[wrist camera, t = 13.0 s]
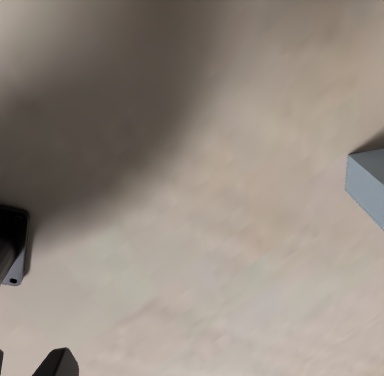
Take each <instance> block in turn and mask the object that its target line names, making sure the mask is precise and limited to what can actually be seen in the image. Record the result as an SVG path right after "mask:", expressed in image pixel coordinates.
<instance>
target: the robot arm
mask: <svg viewBox="0 0 384 376" xmlns="http://www.w3.org/2000/svg"><path fill="white" fill-rule="evenodd" d="M18 216H21V217H22V218H23V219H21V218H19V217H18ZM29 222H30V215H29V213H28V212H27V211H26V210H23V209H19V208H14V207H10V206H5V205H1V204H0V285H1V284H5V285H11V286H18V285H20V284H21V282H22V280H23V276H24V267H25V258H26V249H27V240H28V231H29ZM3 354H4V353H3V351H1V350H0V374H1V367H2V360H3ZM32 376H79V366H78V363H77V361H76V360H75V358H74V356H73V355H72V353H71V351H70V350H69V349H68V348H67V347H65V348H59V349H54V350H52V351H51V352H50V353H49V354H48V356H47V357H46V358H45V359H44V361H43V362H42V363H41V365H40V366H39V367H38V369H37V370H36V371H35V372H34V374H33V375H32Z"/></svg>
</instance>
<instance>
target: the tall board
mask: <svg viewBox="0 0 384 376" xmlns="http://www.w3.org/2000/svg"><path fill="white" fill-rule="evenodd" d="M345 191H346V192H347V193H348V194H349V195H350V196H351V197H352V198H353V199H354V200H355V201H356V202H357V203H358V204H359V206H360V207H361V208H362V209H363V210H364V211H365V212H366V213H367V214H368V215H369V216H370V217H371V218H372V219H373V220H374V221H375V223H376V224H377V225H378V226H379V227H380V228H381V229H382V230H383V231H384V148H383V149H377V150H372V151H366V152H361V153H355V154H350V155H348V161H347V173H346V185H345Z"/></svg>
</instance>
